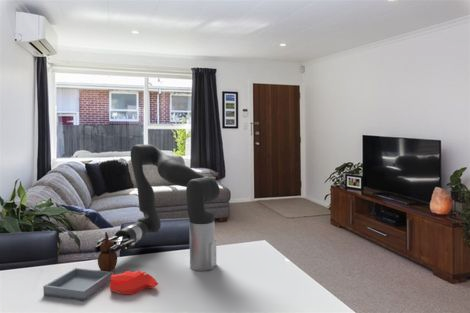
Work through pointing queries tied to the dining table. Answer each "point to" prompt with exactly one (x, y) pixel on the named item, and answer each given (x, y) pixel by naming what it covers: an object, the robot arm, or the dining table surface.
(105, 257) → the wooden figurine
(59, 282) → the slate dish
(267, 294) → the dining table surface
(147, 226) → the robot arm
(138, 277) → the animal figurine
